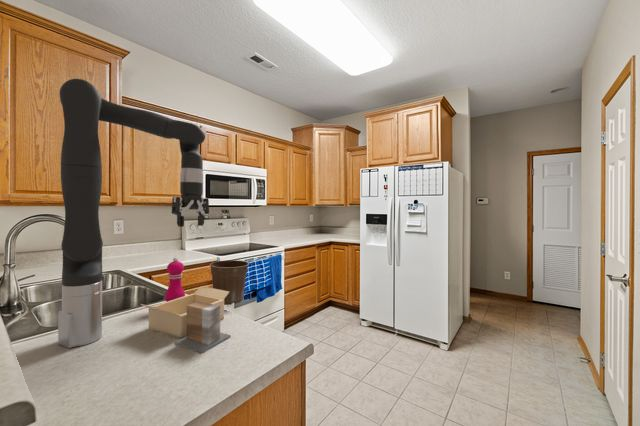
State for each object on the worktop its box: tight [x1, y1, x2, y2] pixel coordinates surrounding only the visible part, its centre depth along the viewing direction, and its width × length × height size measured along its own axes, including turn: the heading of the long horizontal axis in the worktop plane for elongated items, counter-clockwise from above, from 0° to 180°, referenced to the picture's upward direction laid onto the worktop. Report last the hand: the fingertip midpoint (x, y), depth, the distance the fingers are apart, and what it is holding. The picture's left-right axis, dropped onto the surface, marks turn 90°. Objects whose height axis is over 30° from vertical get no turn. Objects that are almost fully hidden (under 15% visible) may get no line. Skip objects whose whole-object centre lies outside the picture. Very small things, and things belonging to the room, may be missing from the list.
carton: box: [140, 285, 229, 340], centre depth 99 cm, size 24×16×9 cm, turn 154°
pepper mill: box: [164, 257, 186, 302], centre depth 113 cm, size 7×7×20 cm
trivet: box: [174, 331, 231, 354], centre depth 87 cm, size 11×11×1 cm
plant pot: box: [208, 259, 250, 306], centre depth 123 cm, size 16×16×16 cm
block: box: [185, 301, 221, 345], centre depth 86 cm, size 4×9×10 cm, turn 65°
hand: (191, 226), depth 105 cm, fingers open, 8 cm apart
